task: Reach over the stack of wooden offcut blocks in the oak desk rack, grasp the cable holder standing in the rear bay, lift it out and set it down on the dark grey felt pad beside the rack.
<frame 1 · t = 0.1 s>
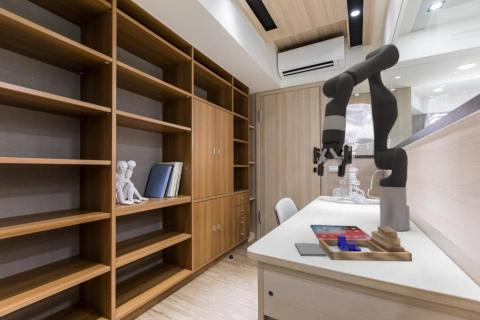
hand: (329, 176, 77), 22 cm above the table, tool pointing down, fingers open, 8 cm apart
cable holder: (348, 253, 67), resting in rack
tablet: (341, 236, 83), on the table
offcut stack: (386, 252, 66), resting on rack
felt pad: (309, 250, 68), on the table
rack: (360, 252, 66), on the table
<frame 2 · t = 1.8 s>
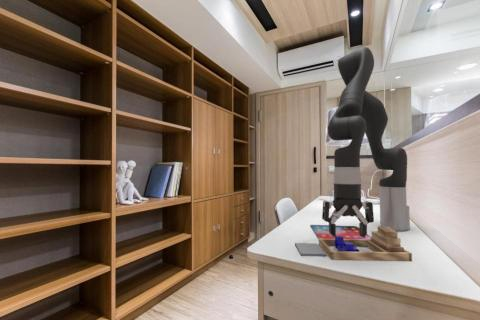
hand: (347, 236, 67), 5 cm above the table, tool pointing down, fingers open, 8 cm apart
nothing on the table moved.
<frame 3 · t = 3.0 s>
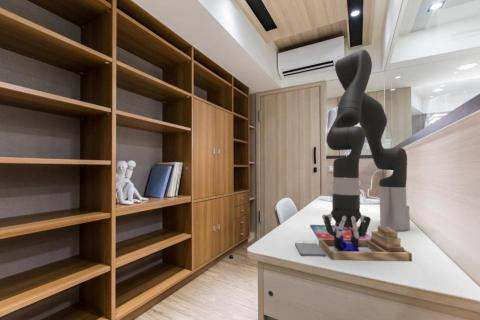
hand: (345, 249, 67), 1 cm above the table, tool pointing down, fingers closed on cable holder, 4 cm apart
cable holder: (346, 253, 66), resting in rack, touching gripper
everything else where it was.
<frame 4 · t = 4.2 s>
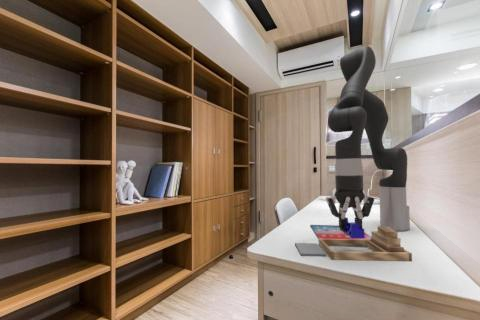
hand: (350, 230, 67), 6 cm above the table, tool pointing down, fingers closed on cable holder, 3 cm apart
cable holder: (351, 234, 67), point 5 cm above the table, touching gripper
everything else where it was.
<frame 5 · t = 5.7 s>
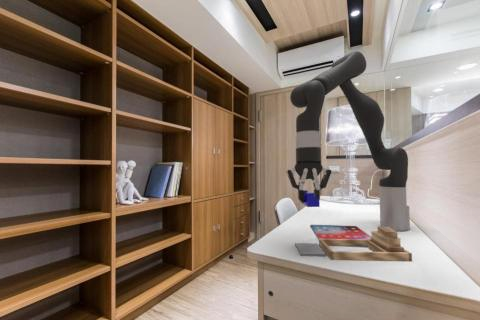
hand: (308, 201, 69), 15 cm above the table, tool pointing down, fingers closed on cable holder, 3 cm apart
cable holder: (309, 205, 68), point 14 cm above the table, touching gripper
everything else where it was.
when the fingers open (2 cm above the table, at t = 8.4 s): cable holder stays where it is, resting on felt pad.
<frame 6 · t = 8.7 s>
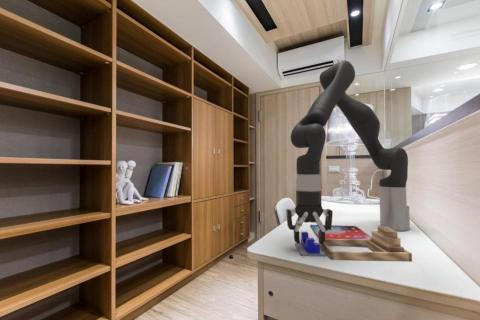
hand: (309, 243, 68), 2 cm above the table, tool pointing down, fingers open, 6 cm apart
cable holder: (309, 249, 68), resting on felt pad
everything else where it was.
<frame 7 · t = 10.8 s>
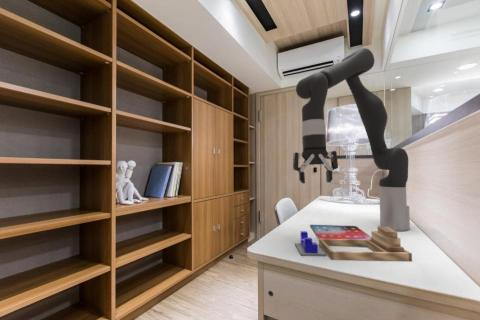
hand: (315, 182, 74), 20 cm above the table, tool pointing down, fingers open, 8 cm apart
nothing on the table moved.
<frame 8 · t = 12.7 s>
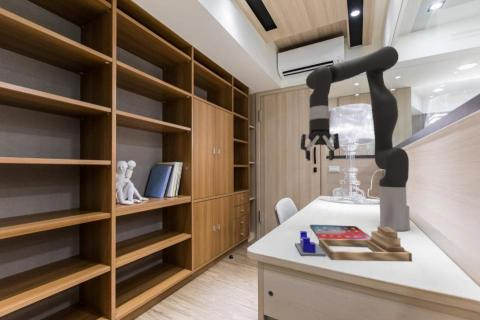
hand: (319, 160, 87), 28 cm above the table, tool pointing down, fingers open, 8 cm apart
nothing on the table moved.
at the end: cable holder inside the target area on the felt pad (0.6 cm from its centre), point 0.4 cm above the felt pad's base; the gripper is holding nothing; cable holder 15.6 cm from the rack (horizontally) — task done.
